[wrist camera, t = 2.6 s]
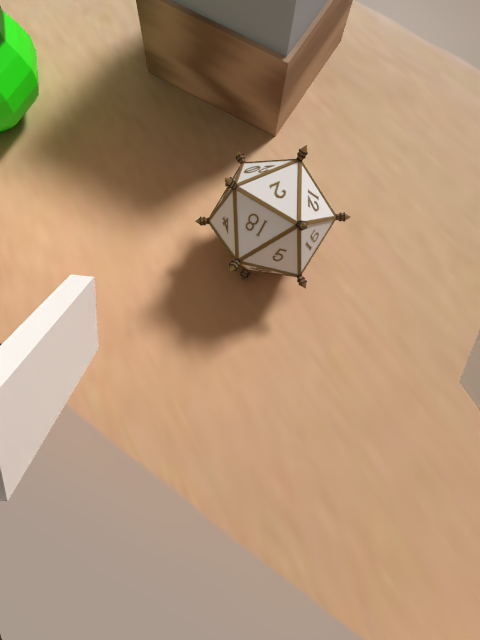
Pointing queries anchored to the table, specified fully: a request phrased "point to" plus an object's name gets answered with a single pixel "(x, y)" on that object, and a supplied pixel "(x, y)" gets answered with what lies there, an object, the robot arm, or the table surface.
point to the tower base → (237, 60)
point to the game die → (272, 217)
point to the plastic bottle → (16, 72)
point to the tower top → (261, 19)
